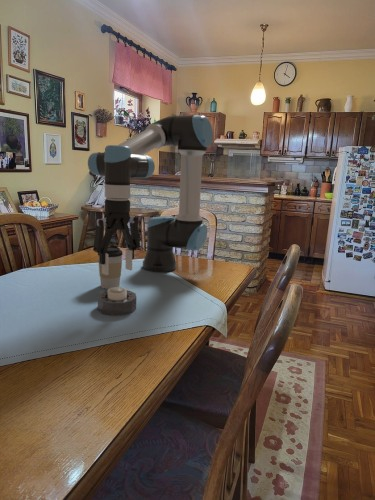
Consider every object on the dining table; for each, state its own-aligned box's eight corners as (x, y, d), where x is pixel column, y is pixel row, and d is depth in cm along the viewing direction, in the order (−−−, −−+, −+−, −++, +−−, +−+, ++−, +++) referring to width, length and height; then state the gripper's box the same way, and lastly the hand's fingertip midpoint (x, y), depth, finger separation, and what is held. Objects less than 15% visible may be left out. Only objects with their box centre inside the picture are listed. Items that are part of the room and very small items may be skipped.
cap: (120, 302, 119) (120, 285, 118) (130, 308, 115) (130, 290, 113) (104, 307, 115) (104, 288, 114) (114, 313, 111) (114, 294, 109)
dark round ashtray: (122, 297, 123) (122, 287, 122) (143, 309, 115) (143, 297, 114) (91, 306, 115) (90, 294, 114) (110, 318, 107) (110, 306, 106)
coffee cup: (116, 291, 129) (117, 251, 126) (93, 288, 131) (93, 248, 127) (126, 283, 138) (126, 245, 134) (104, 281, 139) (103, 243, 136)
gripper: (138, 196, 116) (137, 263, 122) (79, 198, 102) (80, 274, 108) (152, 199, 111) (150, 269, 116) (92, 201, 97) (93, 280, 102)
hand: (117, 271), depth 112 cm, fingers open, 8 cm apart
